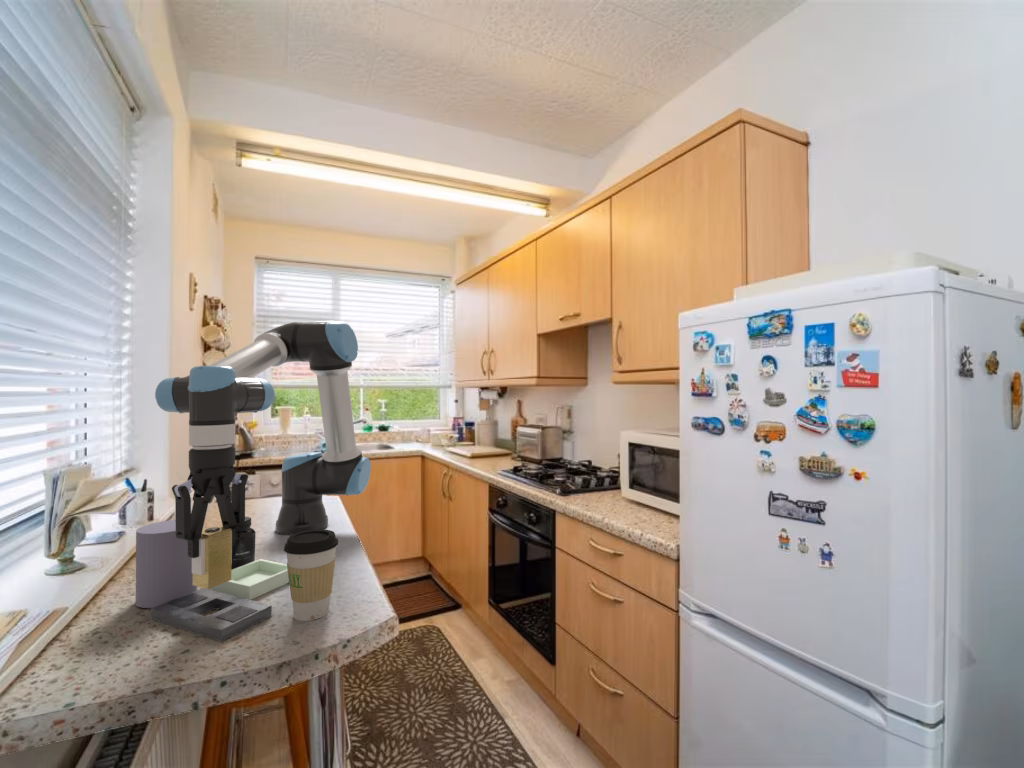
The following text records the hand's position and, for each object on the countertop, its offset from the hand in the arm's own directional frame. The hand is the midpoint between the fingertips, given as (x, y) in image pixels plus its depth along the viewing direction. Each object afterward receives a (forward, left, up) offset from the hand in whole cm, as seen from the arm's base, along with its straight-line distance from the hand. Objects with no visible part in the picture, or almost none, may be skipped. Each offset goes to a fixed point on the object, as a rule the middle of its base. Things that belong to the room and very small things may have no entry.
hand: (212, 568), depth 90 cm
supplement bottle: (-19, -18, -10) cm, 28 cm away
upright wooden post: (0, 0, -3) cm, 3 cm away
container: (-2, -17, -10) cm, 20 cm away
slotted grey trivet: (0, 0, -9) cm, 9 cm away
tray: (-14, -6, -9) cm, 18 cm away
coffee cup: (-9, +16, -10) cm, 21 cm away
